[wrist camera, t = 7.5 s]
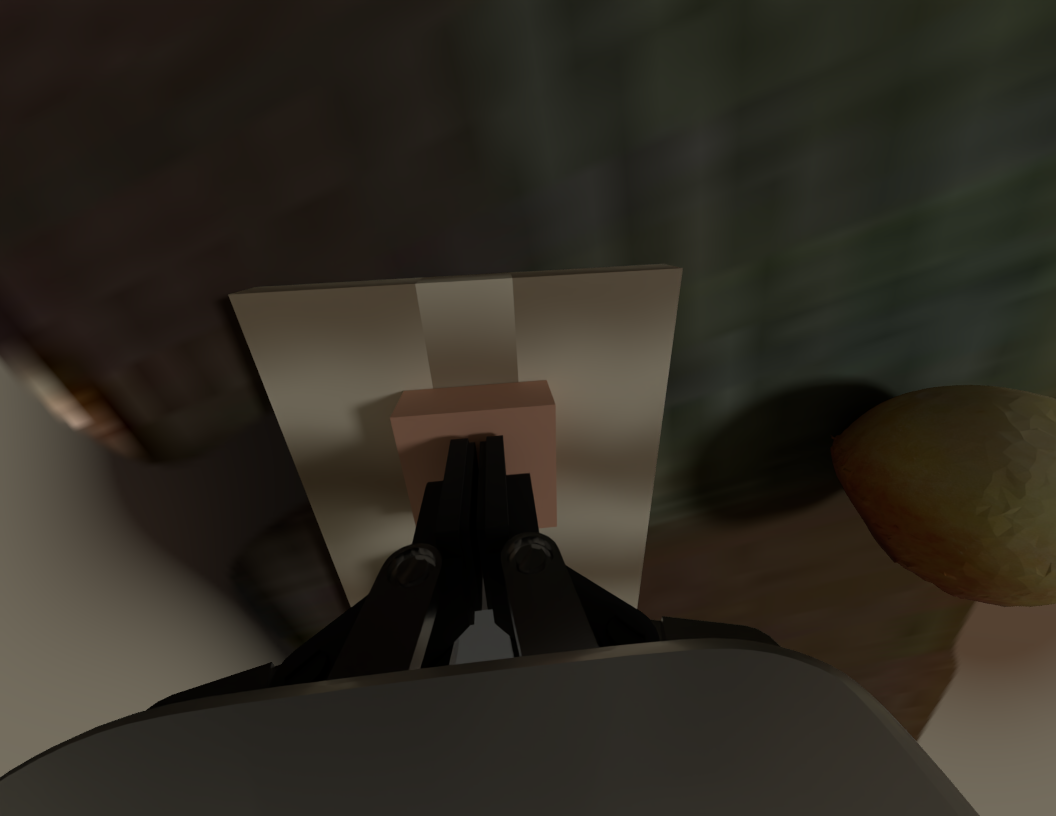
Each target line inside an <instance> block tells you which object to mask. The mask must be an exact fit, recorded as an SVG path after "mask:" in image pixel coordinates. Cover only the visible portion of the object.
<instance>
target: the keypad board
mask: <svg viewBox="0 0 1056 816" xmlns="http://www.w3.org/2000/svg"><path fill="white" fill-rule="evenodd" d="M682 269H683V268H680V267H675V266H671V265H666V264H650V265H633V266H615V267H598V268H580V269H563V270H545V271H528V272H510V273H493V274H475V275H458V276H440V277H423V278H405V279H388V280H370V281H353V282H335V283H318V284H300V285H283V286H265V287H255V288H251V289H247V290H243V291H240V292H236V293H232V294H229V298H230V301H231V303H232V306H233V308H234V311H235V313H236V316H237V318H238V321H239V323H240V326H241V329H242V331H243V334H244V336H245V339H246V341H247V344H248V346H249V349H250V351H251V354H252V357H253V359H254V362H255V364H256V367H257V369H258V372H259V374H260V377H261V379H262V382H263V385H264V387H265V390H266V392H267V395H268V397H269V400H270V402H271V405H272V407H273V410H274V413H275V415H276V418H277V420H278V423H279V425H280V428H281V430H282V432H283V435H284V438H285V441H286V443H287V445H288V448H289V451H290V453H291V456H292V458H293V461H294V463H295V466H296V468H297V471H298V474H299V476H300V479H301V481H302V484H303V486H304V489H305V491H306V494H307V497H308V499H309V502H310V504H311V507H312V509H313V512H314V514H315V517H316V519H317V522H318V525H319V527H320V530H321V532H322V535H323V537H324V540H325V542H326V545H327V547H328V550H329V553H330V555H331V558H332V560H333V563H334V565H335V568H336V570H337V573H338V575H339V578H340V581H341V583H342V586H343V588H344V591H345V593H346V596H347V598H348V601H349V603H350V606H351V607H352V606H354V605H355V604H356V603H358V602H359V601H360V600H361V599H363V598H364V597H365V596H367V595H368V594H369V592H370V590H371V588H372V586H373V584H374V582H375V580H376V577H377V575H378V573H379V571H380V569H381V567H382V565H383V564H384V562H385V561H386V559H387V558H388V557H389V556H390V555H392V554H393V553H394V552H395V551H397V550H399V549H400V548H402V547H404V546H407V545H410V544H412V541H413V537H414V533H415V529H416V526H415V521H414V517H413V513H412V509H411V505H410V500H409V496H408V492H407V488H406V484H405V479H404V475H403V471H402V467H401V463H400V458H399V454H398V450H397V446H396V442H395V437H394V433H393V429H392V425H391V421H390V417H391V415H392V413H393V411H394V409H395V407H396V405H397V403H398V401H399V399H400V397H401V395H402V393H403V391H410V390H423V389H436V388H449V387H462V386H475V385H489V384H502V383H515V382H528V381H541V380H547V382H548V385H549V388H550V391H551V393H552V396H553V399H554V402H555V404H556V487H557V527H549V528H539V533H542V534H544V535H546V536H549V537H550V538H551V539H552V540H553V541H555V543H556V545H557V546H558V548H559V550H560V553H561V555H562V558H563V560H564V562H565V565H566V566H568V567H570V568H571V569H573V570H574V571H576V572H578V573H579V574H581V575H583V576H584V577H586V578H587V579H589V580H591V581H592V582H594V583H596V584H597V585H599V586H600V587H602V588H604V589H605V590H607V591H608V592H610V593H612V594H613V595H615V596H617V597H618V598H620V599H621V600H623V601H625V602H626V603H628V604H630V605H631V606H633V607H634V608H636V609H637V604H638V597H639V589H640V582H641V574H642V567H643V559H644V552H645V545H646V537H647V530H648V522H649V515H650V507H651V500H652V492H653V485H654V478H655V470H656V463H657V455H658V448H659V440H660V433H661V425H662V418H663V411H664V403H665V396H666V388H667V381H668V373H669V366H670V359H671V351H672V344H673V336H674V329H675V321H676V314H677V306H678V299H679V292H680V284H681V277H682Z"/></svg>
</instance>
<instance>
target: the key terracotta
mask: <svg viewBox="0 0 1056 816" xmlns="http://www.w3.org/2000/svg"><path fill="white" fill-rule="evenodd" d="M390 421H391V425H392V429H393V433H394V437H395V442H396V446H397V450H398V454H399V458H400V463H401V467H402V471H403V475H404V479H405V484H406V488H407V492H408V496H409V500H410V505H411V509H412V513H413V517H414V521H415V526H416V525H417V521H418V516H419V512H420V508H421V504H422V500H423V496H424V491H425V487H426V484H427V483H428V482H434V481H443V479H444V473H445V468H446V462H447V457H448V451H449V445H450V440H451V439H463V438H468V440H469V442H475V445H476V452H477V460H478V468H479V452H480V441H486V437H487V436H499V435H503V441H504V453H505V464H506V475H511V474H522V473H530V476H531V483H532V489H533V495H534V502H535V508H536V514H537V521H538V527H539V528H549V527H557V487H556V404H555V402H554V399H553V396H552V393H551V391H550V388H549V385H548V382H547V380H541V381H528V382H515V383H502V384H489V385H475V386H462V387H449V388H436V389H423V390H410V391H403V393H402V395H401V397H400V399H399V401H398V403H397V405H396V407H395V409H394V411H393V413H392V415H391V417H390Z"/></svg>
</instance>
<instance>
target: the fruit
mask: <svg viewBox="0 0 1056 816" xmlns="http://www.w3.org/2000/svg"><path fill="white" fill-rule="evenodd" d="M831 436H832V435H831ZM832 439H834V440H833V446H832V447H831V448H830V450H831V456H832V462H833V466H834V469H835V472H836V475H837V477H838V479H839V481H840V483H841V485H842V486H843V488H844V490H845V492H846V494H847V496H848V497H849V499H850V501H851V502H852V504H853V505H854V507H855V508H856V510H857V511H858V513H859V514H860V516H861V518H862V519H863V520H864V522H865V524H866V525H867V527H868V529H869V531H870V532H871V534H872V536H873V537H874V539H875V540H876V541H877V543H878V544H879V545H880V547H881V548H882V549H883V550H884V551H885V552H886V553H887V555H888V556H889V557H890V558H891V559H892V560H893V561H894V563H896V562H897V563H899V564H900V565H901V566H902V567H904V568H905V569H907V570H909V571H911V572H913V573H915V574H916V575H917V576H919V577H920V578H922V579H923V580H925V581H928V582H931V583H933V584H934V585H936V586H937V587H938V588H940V589H941V590H942V591H944V592H946V593H948V594H950V595H952V596H957V597H959V598H960V599H968V600H973V601H979V602H983V603H988V604H994V605H1000V606H1004V607H1008V606H1030V607H1031V606H1042V605H1049V604H1055V603H1056V399H1054V398H1051V397H1047V396H1042V395H1038V394H1034V393H1030V392H1026V391H1021V390H1015V389H1009V388H1003V387H994V386H980V385H955V386H942V387H933V388H927V389H922V390H918V391H913V392H909V393H905V394H902V395H900V396H897V397H894V398H892V399H889V400H887V401H884V402H882V403H880V404H879V405H877V406H875V407H874V408H872V409H870V410H869V411H867V412H866V413H864V414H863V415H862V416H860V417H859V418H858V419H857V420H855V421H854V422H853V423H852V424H851V425H850V426H849V427H848V428H847V429H845V430H844V431H843V433H841V435H837V436H836V437H833V436H832Z"/></svg>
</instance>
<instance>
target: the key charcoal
mask: <svg viewBox="0 0 1056 816" xmlns="http://www.w3.org/2000/svg"><path fill="white" fill-rule="evenodd" d="M506 658H513V656H512V651H511V646H510V640H509V635H508V634H507V633H505V632H504V631H503V630H502V629H501V628H499V627H498V626H497V625H496V624H495V623H494V616H493V609H491V610H488V608H487V601H486V594H485V587H484V580H483V590H482V611H475V621H474V625H470V626H469V627H468V628H467V629H466V630H465V631H464V633H463V634H462V635H461V636H460V637H459V649H458V654H457V659H456V663H455V665H456V664H464V663H472V662H481V661H489V660H497V659H506Z"/></svg>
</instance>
